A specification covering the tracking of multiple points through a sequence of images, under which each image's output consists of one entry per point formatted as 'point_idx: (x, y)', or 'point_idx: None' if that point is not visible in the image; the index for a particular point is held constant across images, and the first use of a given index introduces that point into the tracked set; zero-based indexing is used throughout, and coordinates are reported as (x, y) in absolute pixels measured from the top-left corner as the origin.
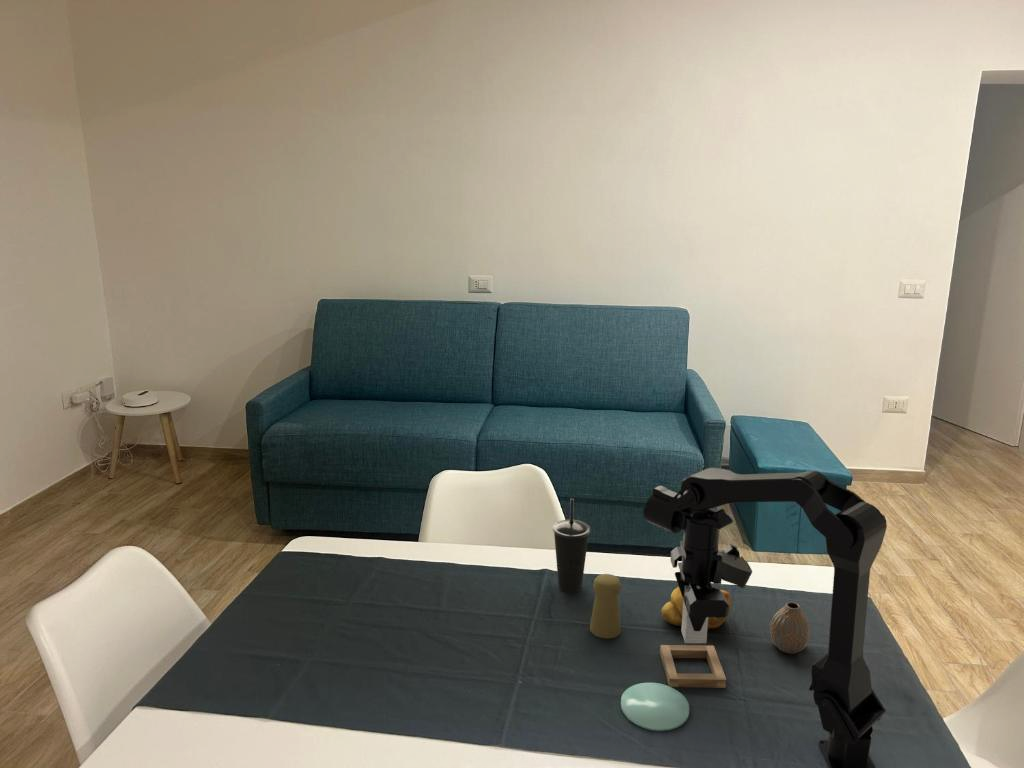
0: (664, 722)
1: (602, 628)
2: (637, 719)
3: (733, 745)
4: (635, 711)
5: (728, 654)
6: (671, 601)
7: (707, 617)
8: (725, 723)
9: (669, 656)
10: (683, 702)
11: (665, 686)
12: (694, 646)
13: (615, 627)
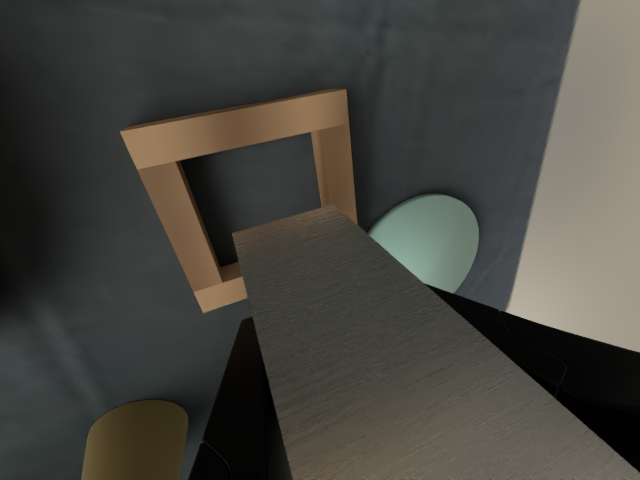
0: (468, 240)
1: (183, 447)
2: (455, 284)
3: (528, 87)
4: None
5: (100, 51)
6: None
7: (424, 289)
8: (467, 102)
9: None
10: (415, 211)
11: None
12: (166, 212)
13: (163, 430)
